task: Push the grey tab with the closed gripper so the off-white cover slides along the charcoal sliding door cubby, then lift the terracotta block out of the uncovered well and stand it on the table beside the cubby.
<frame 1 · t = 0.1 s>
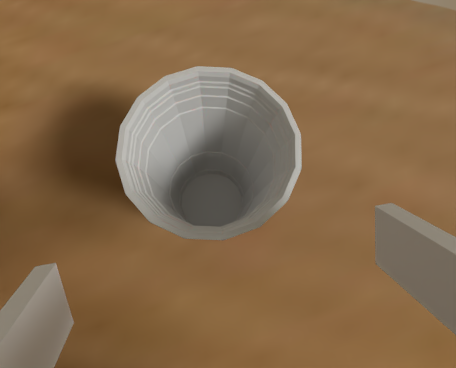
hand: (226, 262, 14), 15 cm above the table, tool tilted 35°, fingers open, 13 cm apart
plastic cup: (211, 205, 31), on the table
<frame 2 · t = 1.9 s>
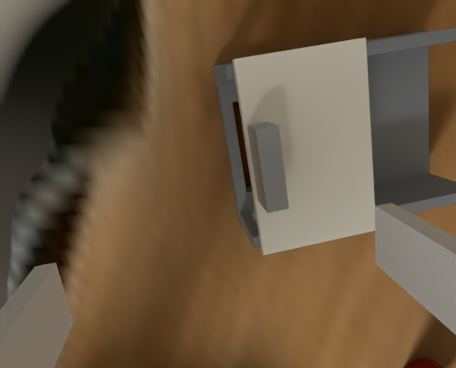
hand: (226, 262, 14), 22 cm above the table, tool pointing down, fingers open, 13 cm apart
cover: (317, 155, 26), point 10 cm above the table, slide at 0.0 cm
sliding door cubby: (324, 129, 37), on the table
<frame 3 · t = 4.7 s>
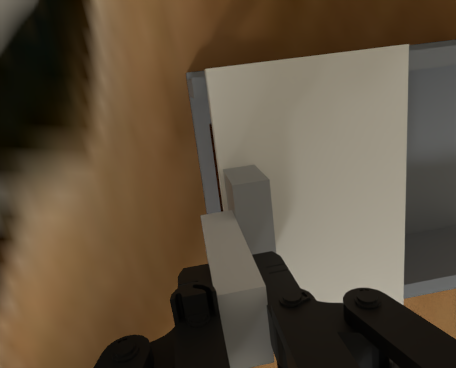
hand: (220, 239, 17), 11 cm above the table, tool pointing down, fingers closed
cover: (326, 217, 18), point 10 cm above the table, slide at 0.2 cm, touching gripper
sliding door cubby: (331, 161, 28), on the table
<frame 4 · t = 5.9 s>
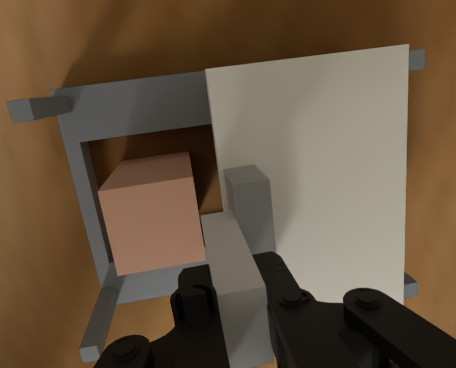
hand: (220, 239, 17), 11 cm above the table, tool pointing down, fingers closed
cover: (326, 217, 18), point 10 cm above the table, slide at 8.8 cm, touching gripper
sliding door cubby: (225, 177, 27), on the table
block: (161, 187, 27), resting in sliding door cubby
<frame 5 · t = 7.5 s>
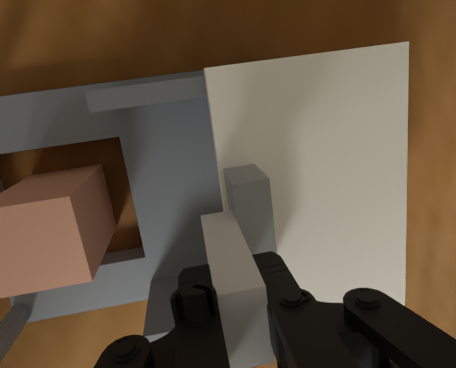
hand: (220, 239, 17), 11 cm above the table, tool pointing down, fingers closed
cover: (327, 216, 18), point 10 cm above the table, slide at 15.2 cm, touching gripper
sliding door cubby: (142, 190, 26), on the table
block: (75, 201, 26), resting in sliding door cubby
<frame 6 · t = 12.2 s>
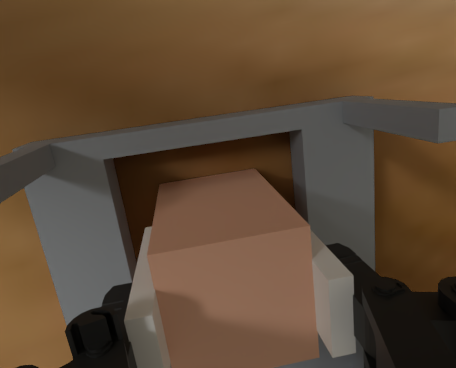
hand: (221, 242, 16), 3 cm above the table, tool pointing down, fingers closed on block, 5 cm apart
sliding door cubby: (226, 300, 20), on the table
block: (214, 220, 19), resting in sliding door cubby, touching gripper
when the fingers open (4 cm above the table, at t = 17.9 s): block drops 1 cm, on the table.
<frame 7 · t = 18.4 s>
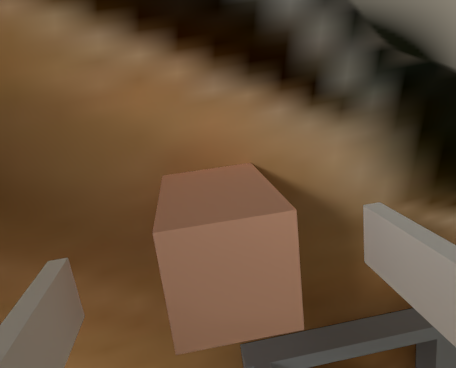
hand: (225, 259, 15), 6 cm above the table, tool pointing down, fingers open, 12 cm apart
block: (212, 210, 20), on the table
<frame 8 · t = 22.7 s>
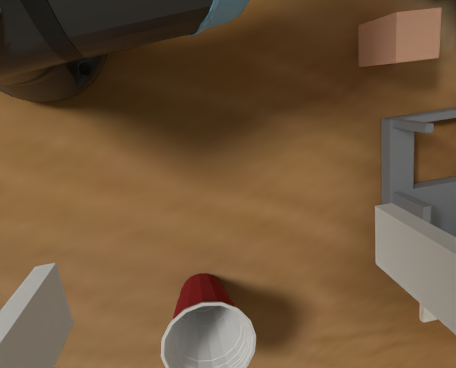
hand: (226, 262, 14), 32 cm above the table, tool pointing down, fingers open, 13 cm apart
plastic cup: (202, 288, 50), on the table
sliding door cubby: (433, 183, 51), on the table
block: (377, 44, 45), on the table
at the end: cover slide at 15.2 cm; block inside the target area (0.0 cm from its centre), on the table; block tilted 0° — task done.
